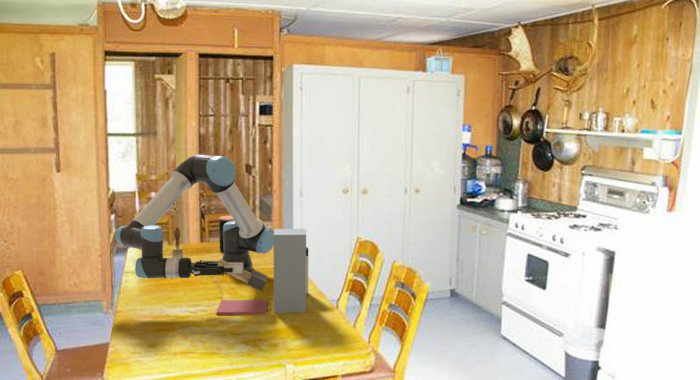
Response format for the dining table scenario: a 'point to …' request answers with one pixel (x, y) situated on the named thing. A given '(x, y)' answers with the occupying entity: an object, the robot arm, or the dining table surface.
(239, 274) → the stamp
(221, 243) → the coffee jar
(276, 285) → the pedestal
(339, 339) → the dining table surface
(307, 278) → the travel mug
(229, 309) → the mat
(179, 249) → the hand bell
